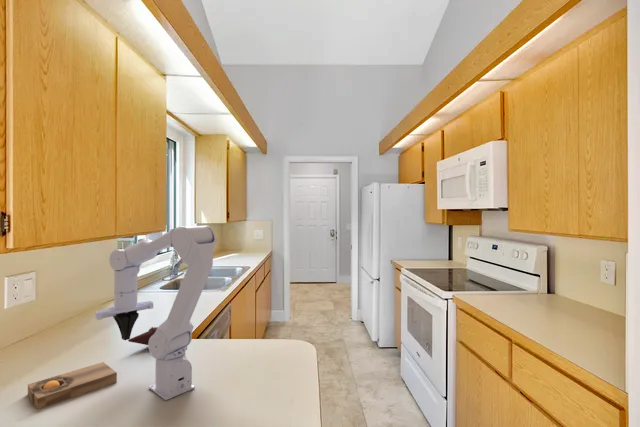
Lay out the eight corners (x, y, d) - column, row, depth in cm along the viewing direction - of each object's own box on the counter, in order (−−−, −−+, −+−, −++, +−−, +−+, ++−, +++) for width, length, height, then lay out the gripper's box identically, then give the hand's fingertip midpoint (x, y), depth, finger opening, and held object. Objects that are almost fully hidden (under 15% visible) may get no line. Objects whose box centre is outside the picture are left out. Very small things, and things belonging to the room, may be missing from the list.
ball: (43, 398, 84) (60, 394, 86) (43, 384, 84) (61, 380, 87) (41, 395, 86) (58, 391, 89) (42, 381, 87) (59, 377, 89)
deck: (116, 381, 93) (116, 372, 93) (36, 409, 80) (36, 399, 80) (103, 370, 100) (103, 361, 100) (26, 394, 86) (26, 384, 86)
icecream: (131, 336, 109) (180, 331, 118) (128, 324, 115) (175, 320, 124) (128, 356, 110) (177, 349, 119) (125, 343, 116) (171, 337, 125)
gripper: (146, 284, 105) (145, 328, 105) (91, 293, 94) (91, 342, 94) (156, 288, 100) (156, 334, 100) (101, 297, 89) (100, 349, 89)
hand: (125, 338), depth 97 cm, fingers closed
